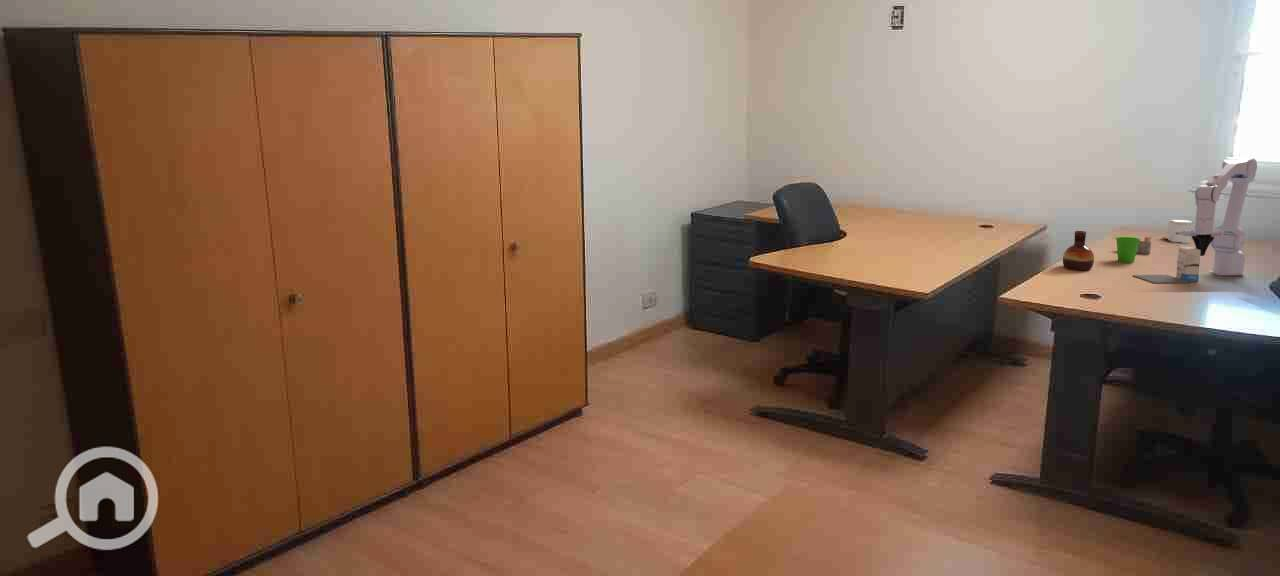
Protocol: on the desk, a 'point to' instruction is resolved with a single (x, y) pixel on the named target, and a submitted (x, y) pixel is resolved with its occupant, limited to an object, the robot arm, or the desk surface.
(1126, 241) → the cup
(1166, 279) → the mat
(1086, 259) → the vase
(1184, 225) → the supplement box
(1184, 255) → the ink box
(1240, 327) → the desk surface
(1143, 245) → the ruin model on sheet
